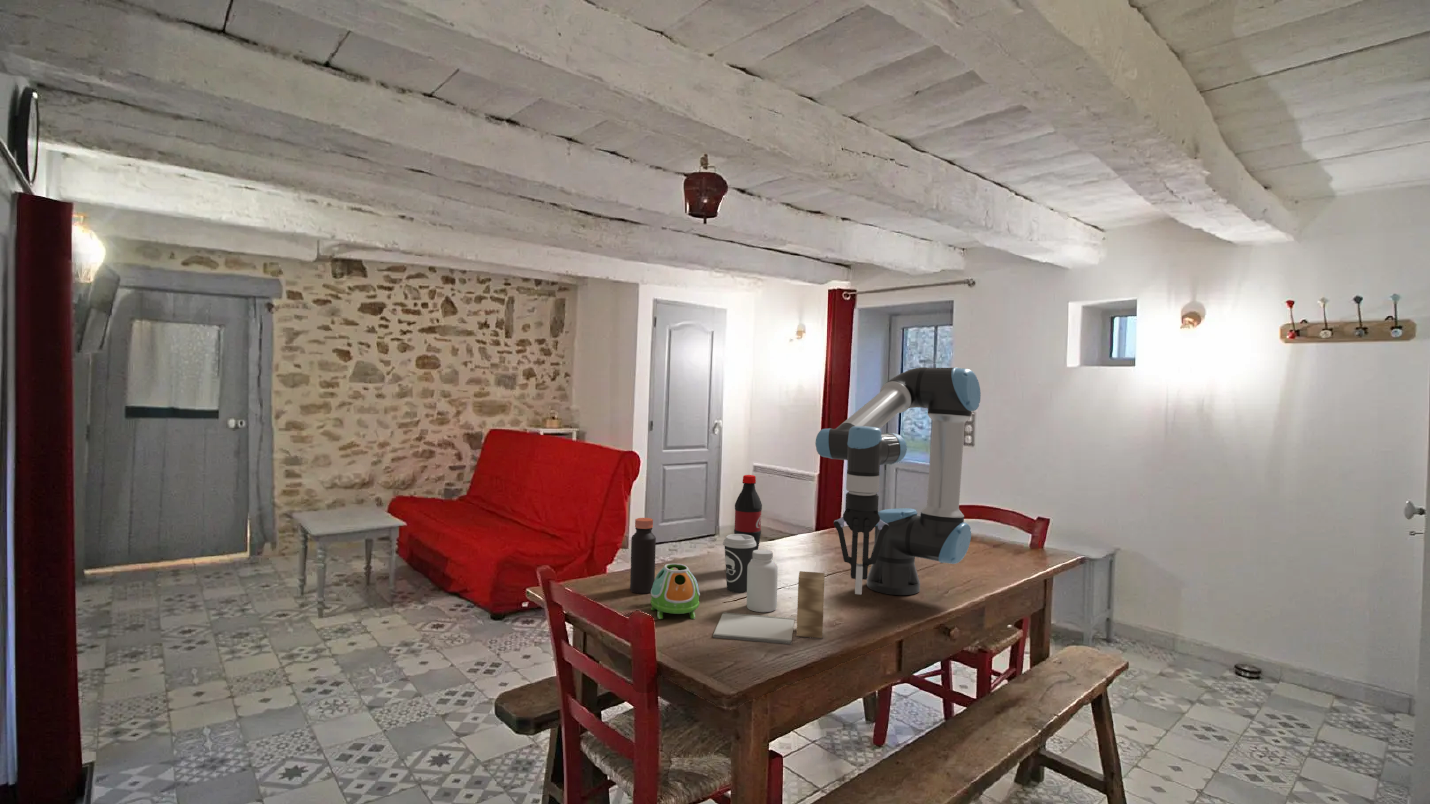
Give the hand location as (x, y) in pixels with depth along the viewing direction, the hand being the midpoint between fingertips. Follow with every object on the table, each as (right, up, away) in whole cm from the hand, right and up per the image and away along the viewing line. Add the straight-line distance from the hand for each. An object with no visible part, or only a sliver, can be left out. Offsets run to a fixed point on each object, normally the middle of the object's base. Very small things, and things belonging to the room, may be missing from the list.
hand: (858, 592), depth 170 cm
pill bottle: (-21, -10, +20) cm, 31 cm away
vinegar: (-54, -8, +32) cm, 63 cm away
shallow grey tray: (-24, -10, +4) cm, 26 cm away
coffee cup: (-27, -9, +36) cm, 46 cm away
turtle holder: (-44, -9, +16) cm, 48 cm away
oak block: (-11, -10, +2) cm, 15 cm away
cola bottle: (-24, -8, +56) cm, 61 cm away
